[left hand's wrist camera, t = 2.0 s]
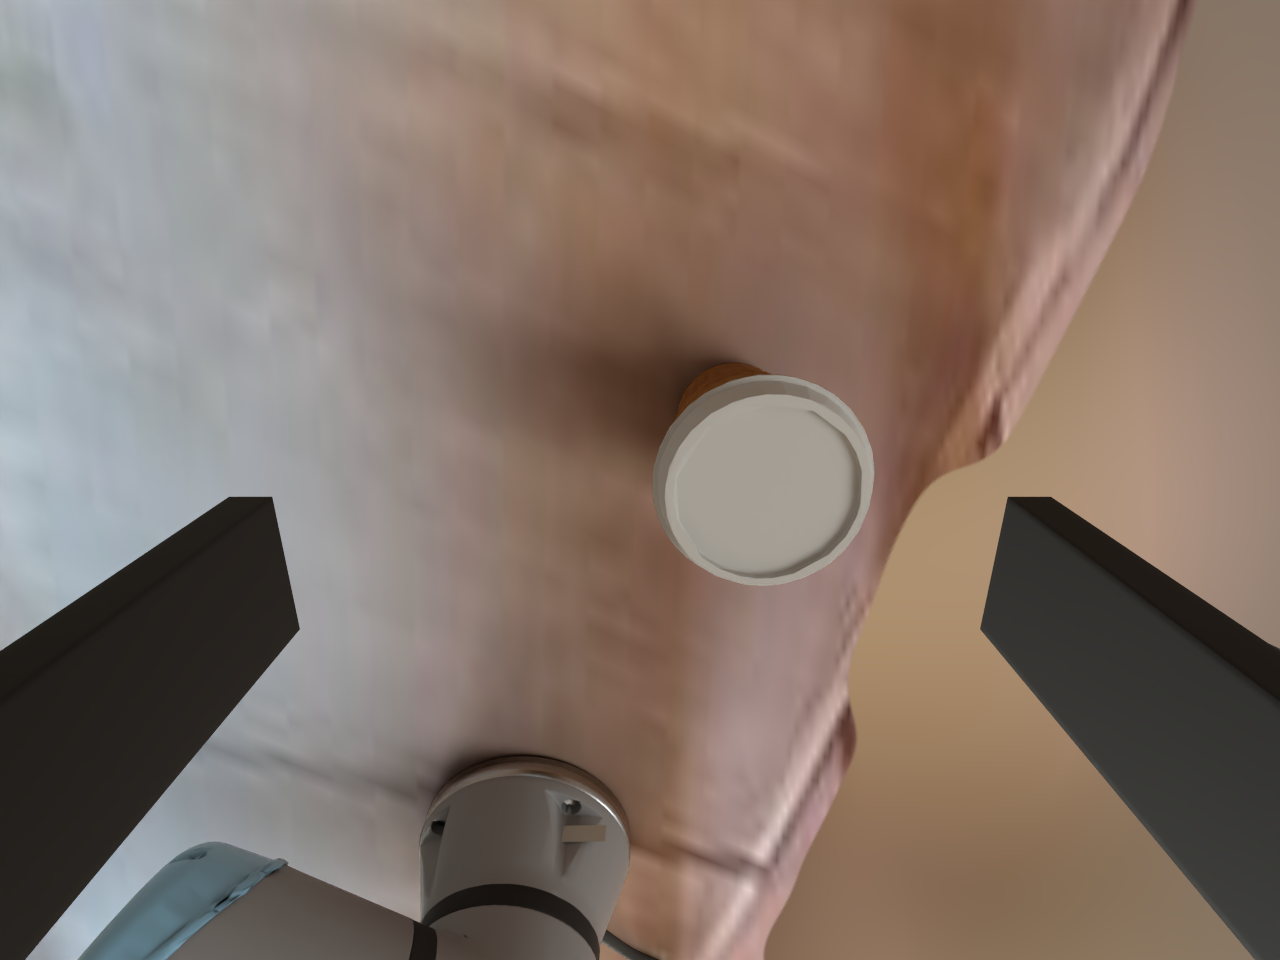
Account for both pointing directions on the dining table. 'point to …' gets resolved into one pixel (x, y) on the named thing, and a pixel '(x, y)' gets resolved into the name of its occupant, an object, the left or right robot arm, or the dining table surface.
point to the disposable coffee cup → (762, 476)
